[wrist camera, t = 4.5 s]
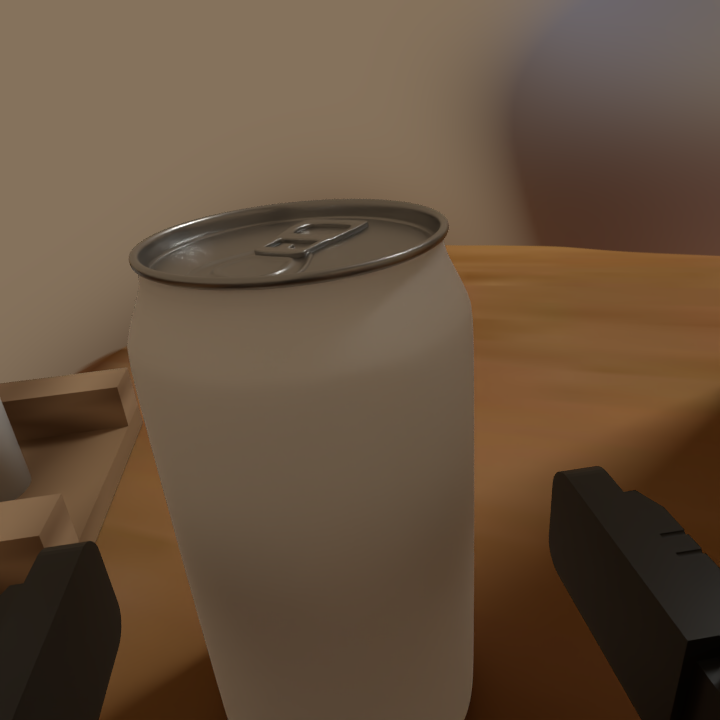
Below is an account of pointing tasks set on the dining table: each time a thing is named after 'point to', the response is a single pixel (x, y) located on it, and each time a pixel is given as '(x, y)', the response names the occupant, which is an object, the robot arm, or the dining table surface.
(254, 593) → the can
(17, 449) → the grey peg
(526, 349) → the dining table surface
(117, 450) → the rail
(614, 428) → the dining table surface
